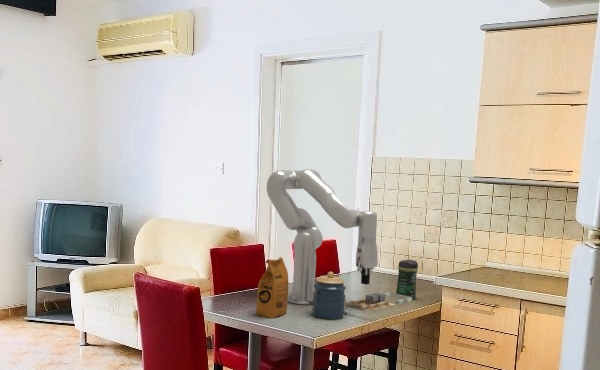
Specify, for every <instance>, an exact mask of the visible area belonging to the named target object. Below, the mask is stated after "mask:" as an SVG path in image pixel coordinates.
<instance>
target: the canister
mask: <svg viewBox="0 0 600 370" xmlns="http://www.w3.org/2000/svg"><path fill="white" fill-rule="evenodd" d="M315 281H316V282H315V284H314V293H313V300H312V302H313V304H312V308H311V313H312V316H313V317H316V318H319V319H323V320H339V319H342V318H343V317H344V316H345V305H346V302H345V301H346V294H345V290H346V289H347V287H346V285H344V283H345V281H344V279H342V278H341V277H339V276H337V275H335V274H334V272H333V271H328V272H327V274H326V275H320V276H319V277H317V278H315Z"/></svg>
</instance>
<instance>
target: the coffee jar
mask: <svg viewBox="0 0 600 370" xmlns="http://www.w3.org/2000/svg"><path fill="white" fill-rule="evenodd" d="M418 264H419V262H418V261H417V260H413V259H405V260H404V259H403V260H400V261H399V262H398V268H397V269H398V276H397V285H396V291H395V294H400V295H404V296H408V297H413V300H415V299H416V298H417V297H416V295H417V291H416V290H417V273H418V269H419V265H418Z"/></svg>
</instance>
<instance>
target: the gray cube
mask: <svg viewBox="0 0 600 370" xmlns="http://www.w3.org/2000/svg"><path fill="white" fill-rule="evenodd" d="M364 299H365V304H367V305H371V304H376V303H378V299H379V296H378V295H374V294H373V293H368V294H365V298H364Z"/></svg>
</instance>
